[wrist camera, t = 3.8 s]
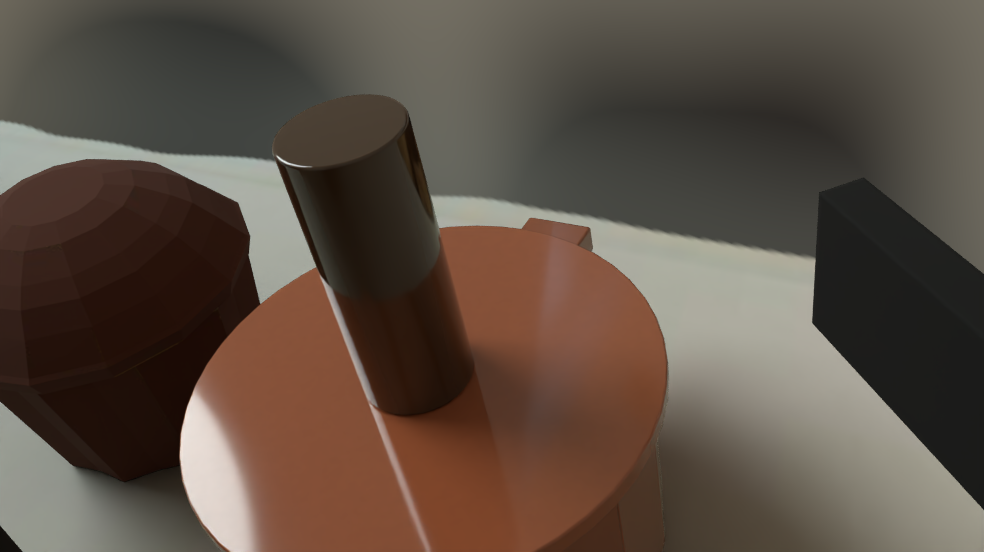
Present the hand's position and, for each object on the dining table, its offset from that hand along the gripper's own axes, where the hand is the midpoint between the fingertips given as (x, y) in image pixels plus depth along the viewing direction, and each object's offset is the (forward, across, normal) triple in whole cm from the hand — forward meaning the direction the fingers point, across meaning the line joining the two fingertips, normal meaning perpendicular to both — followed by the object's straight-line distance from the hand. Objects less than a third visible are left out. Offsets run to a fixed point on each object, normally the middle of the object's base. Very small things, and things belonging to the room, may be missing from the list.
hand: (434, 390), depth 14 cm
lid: (+9, 0, -8) cm, 12 cm away
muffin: (+20, -10, -15) cm, 27 cm away
